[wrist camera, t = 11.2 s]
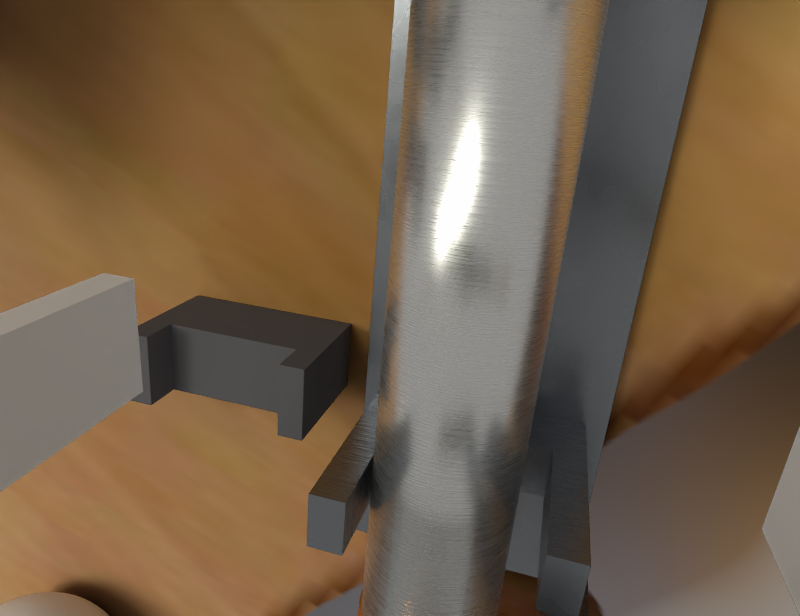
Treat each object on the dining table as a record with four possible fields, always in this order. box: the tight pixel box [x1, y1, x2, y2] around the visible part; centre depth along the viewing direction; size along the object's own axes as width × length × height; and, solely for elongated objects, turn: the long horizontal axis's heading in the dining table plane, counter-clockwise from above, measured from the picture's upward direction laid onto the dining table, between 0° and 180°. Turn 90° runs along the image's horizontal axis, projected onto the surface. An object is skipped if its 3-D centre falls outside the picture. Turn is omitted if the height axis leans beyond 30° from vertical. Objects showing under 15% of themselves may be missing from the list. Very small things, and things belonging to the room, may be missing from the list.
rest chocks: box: [131, 296, 351, 441], centre depth 22 cm, size 21×8×5 cm, turn 175°
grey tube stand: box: [307, 0, 708, 616], centre depth 16 cm, size 35×10×15 cm, turn 175°
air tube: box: [358, 0, 610, 616], centre depth 18 cm, size 28×5×5 cm, turn 175°
